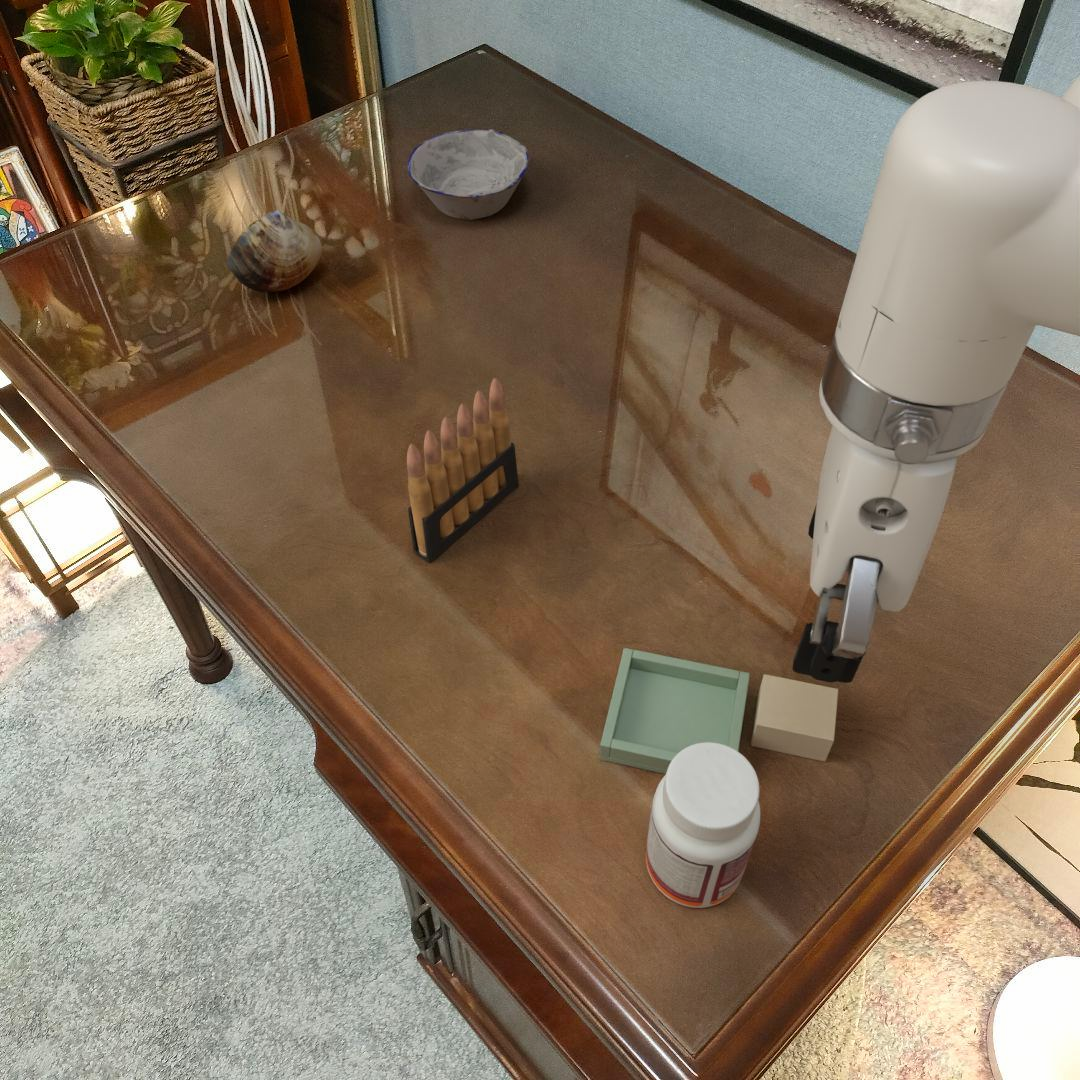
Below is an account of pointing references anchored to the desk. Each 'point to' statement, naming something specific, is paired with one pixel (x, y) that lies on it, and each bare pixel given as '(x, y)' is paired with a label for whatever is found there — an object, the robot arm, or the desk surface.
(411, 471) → the ammunition clip
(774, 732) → the beige block
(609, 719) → the shallow square green tray
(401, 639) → the desk surface
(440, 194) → the bowl
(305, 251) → the seashell
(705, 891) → the pill bottle
